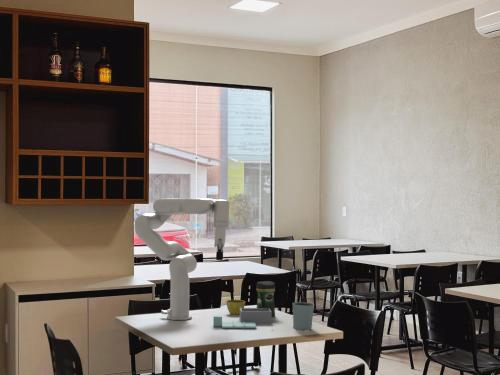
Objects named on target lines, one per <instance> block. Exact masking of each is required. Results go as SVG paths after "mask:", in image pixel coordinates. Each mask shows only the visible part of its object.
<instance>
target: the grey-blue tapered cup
mask: <svg viewBox="0 0 500 375" xmlns="http://www.w3.org/2000/svg"><path fill="white" fill-rule="evenodd" d="M314 310H315V304H314V303H311V302H305V301H303V302H301V301H300V302H298V301H297V302H292V320H293V322H292V323H293V327H292V329H295V330H302V331H303V332H304V331H305V330H309V331H311V330H312V329H313V328H312V327H313V326H312V325H313V317H314ZM302 331H301V332H302ZM305 332H306V331H305Z"/></svg>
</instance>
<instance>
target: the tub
mask: <svg viewBox="0 0 500 375" xmlns="http://www.w3.org/2000/svg"><path fill="white" fill-rule="evenodd" d="M272 318H273V317H272V311H271V310H270V308H257V307H244V308H240V315H239V322H243V321H244V322H255V324H256V325H258V324H259V325H262V324H263V325H265V324H266V325H270V324H271V325H272Z"/></svg>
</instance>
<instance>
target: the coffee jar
mask: <svg viewBox="0 0 500 375" xmlns="http://www.w3.org/2000/svg"><path fill="white" fill-rule="evenodd" d="M275 284H276V283H275V281H271V280H264V281H257V283H256V287H255V288H256V289H255V290H256V292H257V298H256V300H257V301H256V308H270V310H271V311H272V318H274V317H275V316H276V308H275V306H276V305H275V291H276V285H275Z"/></svg>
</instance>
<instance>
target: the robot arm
mask: <svg viewBox="0 0 500 375" xmlns="http://www.w3.org/2000/svg"><path fill="white" fill-rule="evenodd" d="M152 209H153V212H152V213H148V212H147V213H142V214H139V215H138V216H137V217H136V219H135V221H134V231H135V234H136V236H137V238H139V240H140V241H141V242H142V243H143V244H144V245H145V246H147V247H148V248H149V249H150V251H152V252H153V253H154V254H155V256H157V257H158V258H159V259H161V260H162V261H170V262H169V265H168V266H169V267H168V268H169V275H170V296H169V297H170V298H169V299H170V301H169V302H170V306H169V308H168V309H166V310H163V309H161V315H167V316H166V318H167V320H170V321H171V320H173V321H186V320H190V319H192V318H193V315H191V314H190V277H189V274H190V273H192V272H194V271H195V270H196V268H197V266H198V261H197V259H196V257H195V256H194V255H193V254H192V253H191V252H190V251H188V249H187V248H186V247H184V246H183V245H182V244H181V243H179V242H178V241H174V240H170V241H169V240H166V239H165V238H164V237H163V236H162V235H161V234H160V233H158V232H156V231H155V230H157V229H160V228H161V227H162V226H163V225H164V224H165V223H166V222H167V221H168V220H169V219H170V218H171V216H173V215H176V216H177V215H178V216H180V215H182V216H184V215H209V214H210V215H211V214H213V226H212V227H213V228H214V245H213V246H214V248H216V253H215V255H216V256H215V260H216V261H223V258H224V248H225V244H226V234H227V229H229V227H230V226H229V224H230V223H229V220H230V201H229V200H227V199H214V198H184V197H161V198H157V199H156V200H155V201H154V202H153V204H152Z"/></svg>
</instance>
